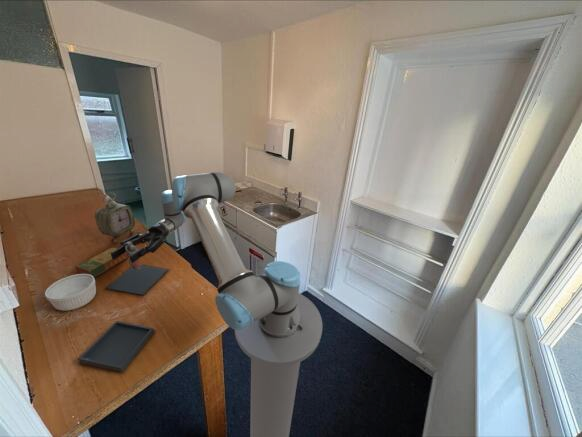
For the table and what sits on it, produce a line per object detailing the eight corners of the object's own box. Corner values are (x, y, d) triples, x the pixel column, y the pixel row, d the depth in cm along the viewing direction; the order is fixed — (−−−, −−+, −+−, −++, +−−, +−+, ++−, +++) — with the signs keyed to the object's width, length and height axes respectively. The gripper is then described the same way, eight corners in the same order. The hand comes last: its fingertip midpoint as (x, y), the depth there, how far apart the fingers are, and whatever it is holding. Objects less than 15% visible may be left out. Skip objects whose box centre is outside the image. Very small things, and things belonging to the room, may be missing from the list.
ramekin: (78, 284, 92) (73, 270, 89) (108, 290, 91) (103, 276, 88) (41, 310, 80) (33, 295, 77) (74, 317, 79) (67, 302, 76)
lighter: (127, 261, 96) (121, 240, 91) (136, 258, 98) (131, 238, 94) (133, 270, 91) (128, 249, 87) (143, 267, 93) (138, 246, 89)
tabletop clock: (115, 245, 118) (101, 199, 107) (100, 242, 119) (85, 196, 109) (137, 232, 131) (127, 190, 120) (123, 229, 132) (112, 187, 122)
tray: (154, 332, 76) (153, 327, 75) (122, 372, 64) (120, 368, 64) (117, 324, 78) (116, 320, 77) (80, 363, 66) (77, 358, 65)
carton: (127, 258, 109) (125, 250, 108) (92, 279, 95) (89, 271, 94) (113, 254, 111) (111, 246, 109) (77, 274, 97) (73, 266, 95)
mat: (168, 270, 104) (168, 269, 104) (142, 295, 90) (142, 294, 90) (135, 264, 106) (135, 264, 105) (105, 288, 91) (105, 288, 91)
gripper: (182, 240, 108) (148, 270, 88) (142, 234, 110) (100, 262, 90) (180, 226, 105) (144, 254, 85) (139, 220, 107) (95, 245, 87)
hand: (121, 258), depth 87 cm, fingers closed on lighter, 7 cm apart
